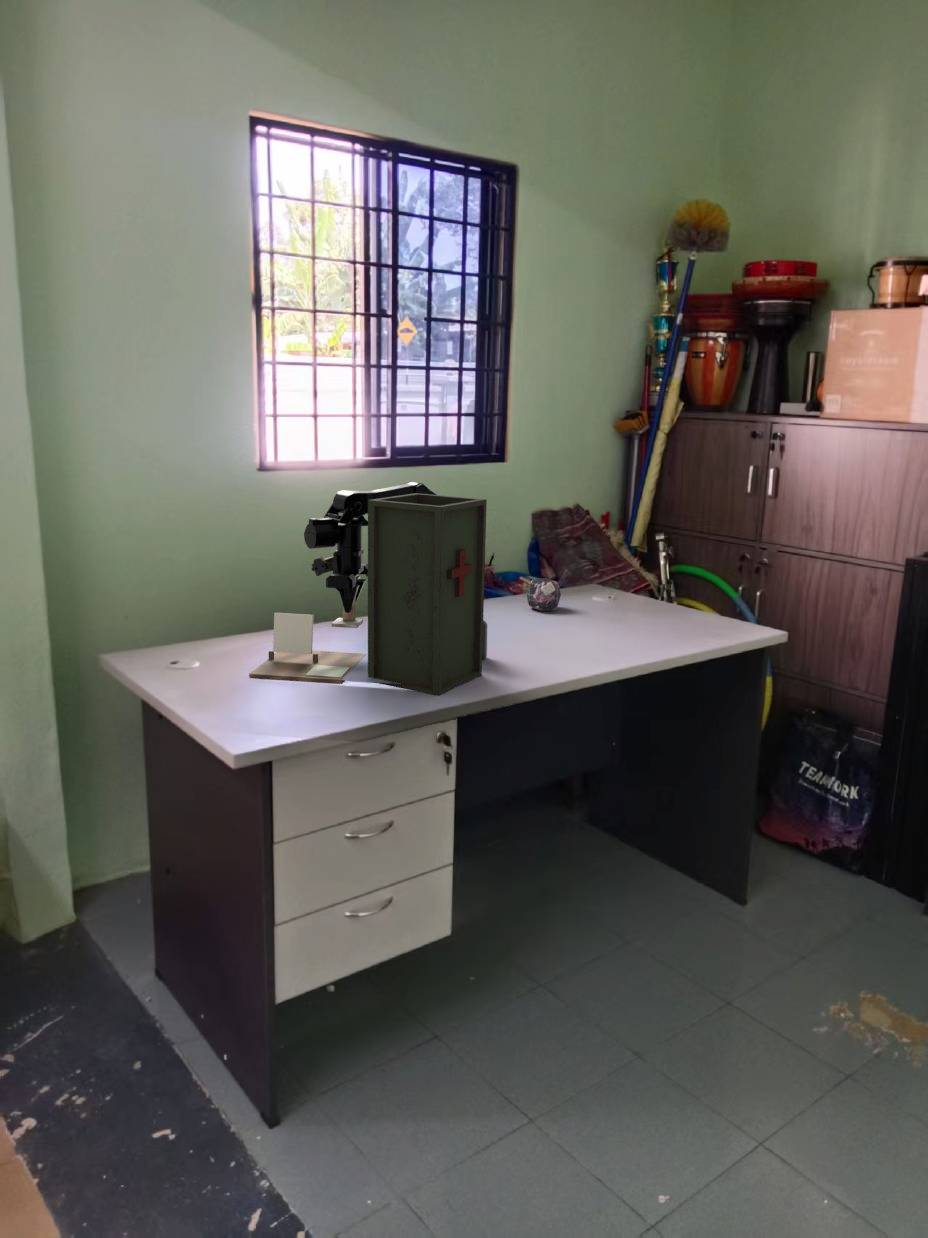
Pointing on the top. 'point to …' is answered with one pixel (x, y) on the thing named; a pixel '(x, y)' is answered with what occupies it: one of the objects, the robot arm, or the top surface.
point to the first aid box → (426, 590)
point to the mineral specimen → (543, 594)
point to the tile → (293, 633)
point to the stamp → (348, 619)
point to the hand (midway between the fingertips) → (349, 611)
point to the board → (308, 666)
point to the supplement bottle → (484, 640)
